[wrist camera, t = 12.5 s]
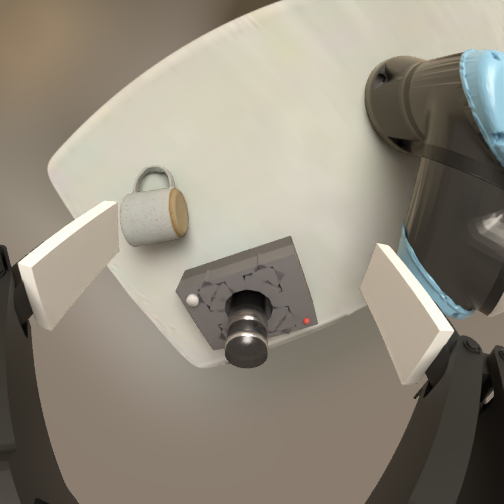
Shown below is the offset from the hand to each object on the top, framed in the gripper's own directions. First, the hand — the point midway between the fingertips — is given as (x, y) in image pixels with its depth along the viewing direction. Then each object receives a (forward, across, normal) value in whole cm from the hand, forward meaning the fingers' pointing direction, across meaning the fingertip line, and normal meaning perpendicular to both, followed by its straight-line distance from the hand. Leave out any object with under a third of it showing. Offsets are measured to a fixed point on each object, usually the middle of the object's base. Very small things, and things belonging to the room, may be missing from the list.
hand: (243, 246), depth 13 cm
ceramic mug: (+27, -13, -7) cm, 31 cm away
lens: (+24, +2, -20) cm, 31 cm away
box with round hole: (+27, +2, -20) cm, 33 cm away
